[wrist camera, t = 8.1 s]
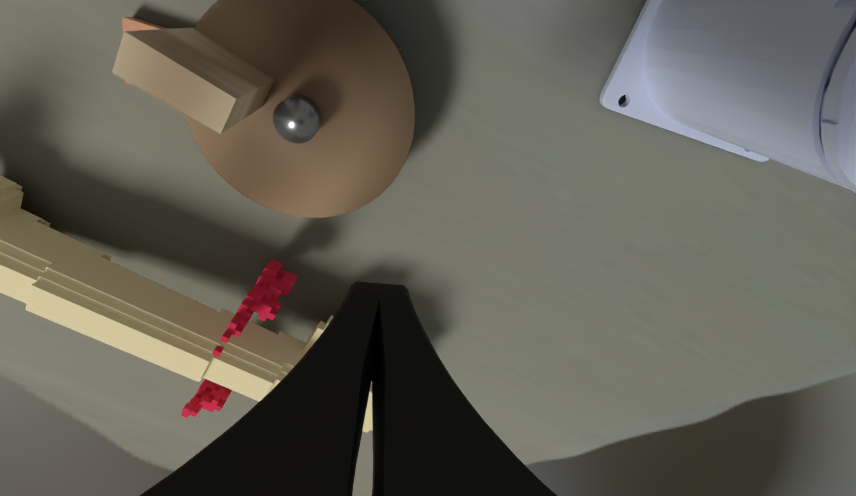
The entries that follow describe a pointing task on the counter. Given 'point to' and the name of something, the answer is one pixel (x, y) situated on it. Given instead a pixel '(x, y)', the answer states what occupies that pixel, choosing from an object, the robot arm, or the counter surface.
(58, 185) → the counter surface
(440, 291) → the counter surface
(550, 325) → the counter surface
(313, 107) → the pivot pin
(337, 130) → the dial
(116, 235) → the counter surface
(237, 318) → the toy vehicle
